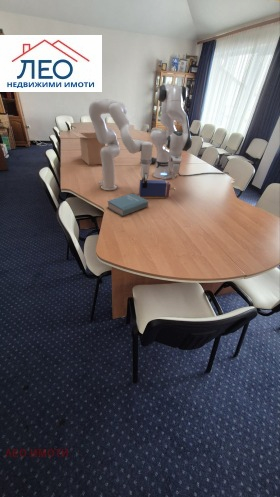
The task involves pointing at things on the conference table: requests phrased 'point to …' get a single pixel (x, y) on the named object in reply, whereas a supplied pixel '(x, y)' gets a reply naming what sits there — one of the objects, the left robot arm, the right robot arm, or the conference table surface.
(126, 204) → the book
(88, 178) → the conference table surface
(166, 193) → the drawer
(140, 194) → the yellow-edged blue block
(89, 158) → the box
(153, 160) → the laser sight
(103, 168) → the left robot arm
